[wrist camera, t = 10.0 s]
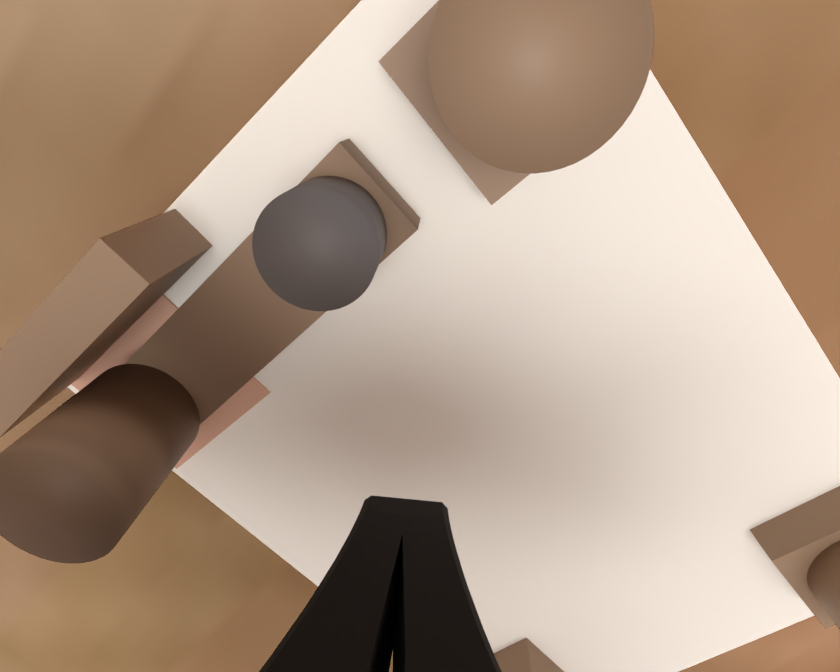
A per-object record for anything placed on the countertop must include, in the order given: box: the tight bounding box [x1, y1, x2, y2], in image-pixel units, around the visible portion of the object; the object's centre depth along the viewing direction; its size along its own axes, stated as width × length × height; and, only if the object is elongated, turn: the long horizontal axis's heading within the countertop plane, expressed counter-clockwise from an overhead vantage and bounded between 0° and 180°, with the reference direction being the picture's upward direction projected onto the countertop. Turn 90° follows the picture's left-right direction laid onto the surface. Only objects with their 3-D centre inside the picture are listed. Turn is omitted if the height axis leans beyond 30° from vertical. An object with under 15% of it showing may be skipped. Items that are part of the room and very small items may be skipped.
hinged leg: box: [0, 139, 420, 563], centre depth 9 cm, size 8×2×4 cm, turn 132°
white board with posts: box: [0, 0, 840, 672], centre depth 12 cm, size 19×14×6 cm
